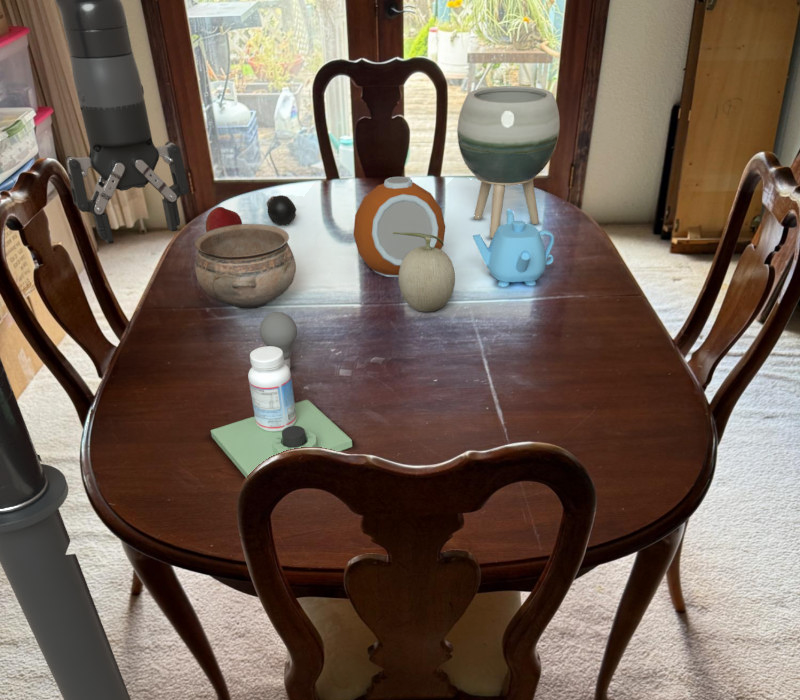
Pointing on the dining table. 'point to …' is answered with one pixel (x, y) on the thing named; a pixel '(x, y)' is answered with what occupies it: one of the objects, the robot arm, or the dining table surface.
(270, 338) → the light bulb
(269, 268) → the cooking pot
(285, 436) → the button
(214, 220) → the apple
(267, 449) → the scale
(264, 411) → the pill bottle
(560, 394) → the dining table surface
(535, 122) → the planter
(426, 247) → the fruit
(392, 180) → the alarm clock
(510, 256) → the teapot
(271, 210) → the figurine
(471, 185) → the dining table surface
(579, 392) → the dining table surface
